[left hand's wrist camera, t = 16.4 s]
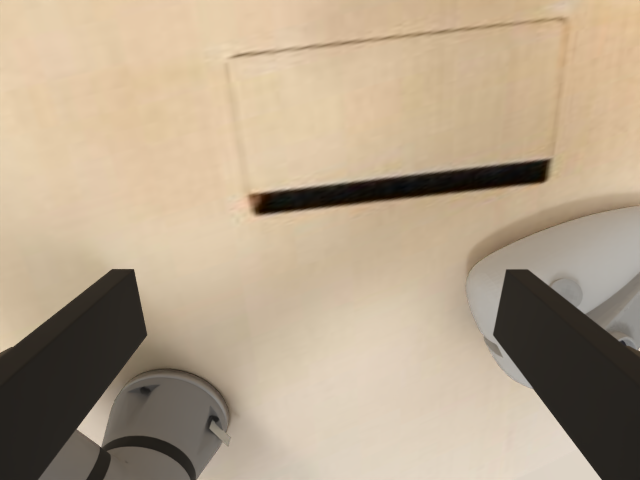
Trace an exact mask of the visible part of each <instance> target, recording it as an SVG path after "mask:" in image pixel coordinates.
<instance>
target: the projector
mask: <svg viewBox="0 0 640 480" xmlns="http://www.w3.org/2000/svg"><path fill="white" fill-rule="evenodd" d="M506 269H528V270H529V271H531V272H532V273H533V274H534V275H536V276H537V277H538V278H540V279H541V280H542V281H543V282H545V283H546V284H547V285H548V286H550V287H551V288H552V289H554V290H555V291H556V292H557V293H559V294H560V295H561V296H562V297H564V298H565V299H566V300H568V301H569V302H570V303H571V304H573V305H574V306H575V307H576V308H578V309H579V310H580V311H582V312H583V313H584V314H585V315H587V316H588V317H589V318H590V319H592V320H593V321H594V322H596V323H597V324H598V325H599V326H601V327H602V328H603V329H604V330H606V331H607V332H608V333H610V334H611V335H612V336H613V337H615V338H616V339H617V340H618V341H620V342H621V343H622V344H624V345H625V346H630V347H632V348H634V349H636V350H638V349H639V348H640V206H633V207H626V208H620V209H615V210H610V211H605V212H601V213H596V214H592V215H588V216H585V217H581V218H578V219H574V220H571V221H568V222H565V223H562V224H559V225H556V226H553V227H550V228H547V229H545V230H542V231H540V232H537V233H534V234H532V235H530V236H527V237H525V238H523V239H520V240H518V241H516V242H514V243H511V244H509V245H507V246H505V247H503V248H501V249H499V250H497V251H495V252H493V253H492V254H490V255H488V256H487V257H485V258H484V259H482V260H481V261H479V262H478V263H477V264H476V265H475V266H474V267H473V268H472V269H471V271H470V272H469V274H468V277H467V280H466V295H467V299H468V303H469V306H470V309H471V312H472V315H473V317H474V319H475V322H476V324H477V326H478V328H479V330H480V332H481V333H482V334H483V336H484V340H485V343H486V345H487V347H488V349H489V351H490V352H491V354H492V356H493V358H494V359H495V361H496V362H497V364H498V365H499V366H500V368H501V369H502V370H503V371H504V372H505V373H506V374H507V375H508V376H509V377H510V378H512V379H513V380H515V381H516V382H518V383H520V384H522V385H524V386H526V387H529V388H532V386H531V385H530V384H529V382H528V381H527V380H526V378H525V377H524V376H523V375H522V373H521V372H520V371H519V369H518V368H517V367H516V365H515V364H514V363H513V361H512V360H511V359H510V357H509V356H508V355H507V353H506V352H505V351H504V349H503V348H502V347H501V345H500V344H499V343H498V341H497V340H496V339H495V337H494V336H493V332H494V327H495V322H496V317H497V312H498V307H499V302H500V297H501V292H502V287H503V282H504V277H505V272H506ZM532 389H533V388H532Z"/></svg>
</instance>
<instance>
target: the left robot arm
mask: <svg viewBox="0 0 640 480" xmlns="http://www.w3.org/2000/svg"><path fill="white" fill-rule="evenodd" d="M146 336H147V332H146V327H145V322H144V317H143V312H142V307H141V302H140V297H139V292H138V287H137V282H136V277H135V272H134V269H112V270H111V271H109V272H108V273H107V274H105V275H104V276H103V277H102V278H100V279H99V280H98V281H97V282H95V283H94V284H93V285H92V286H90V287H89V288H88V289H86V290H85V291H84V292H83V293H81V294H80V295H79V296H78V297H76V298H75V299H74V300H72V301H71V302H70V303H69V304H67V305H66V306H65V307H64V308H62V309H61V310H60V311H58V312H57V313H56V314H55V315H53V316H52V317H51V318H50V319H48V320H47V321H46V322H44V323H43V324H42V325H41V326H39V327H38V328H37V329H36V330H34V331H33V332H32V333H30V334H29V335H28V336H27V337H25V338H24V339H23V340H22V341H20V342H19V343H18V344H16V345H15V346H14V347H11V348H9V349H7V350H5V351H3V352H1V353H0V480H197V478H198V477H199V475H200V474H201V472H202V471H203V470H204V468H205V467H206V465H207V464H208V463H209V461H210V460H211V458H212V457H213V456H214V454H215V453H216V451H217V450H218V449H219V447H220V445H221V443H222V441H223V442H224V443H225V444H226V445H227V446H229V442H230V438H231V437H230V436H229V435H228V434H227V433H226V431H227V427H228V423H229V412H228V408H227V405H226V403H225V401H224V399H223V397H222V396H221V395H220V393H219V392H218V391H217V390H216V389H215V388H214V387H213V386H212V385H210V384H209V383H208V382H206V381H205V380H203V379H201V378H199V377H197V376H195V375H193V374H190V373H187V372H183V371H178V370H169V369H161V370H153V371H149V372H145V373H142V374H140V375H138V376H136V377H134V378H133V379H131V380H130V381H129V382H128V383H127V384H126V385H125V386H124V387H123V389H122V390H121V392H120V393H119V395H118V396H117V398H116V399H115V401H114V404H113V406H112V409H111V412H110V416H109V420H108V424H107V427H106V431H105V435H104V439H103V443H102V447H100V446H99V445H97V444H96V443H95V442H93V441H92V440H91V439H89V438H88V437H86V436H85V435H84V434H82V433H81V432H79V431H78V430H77V428H78V426H79V425H80V424H81V422H82V421H83V420H84V418H85V417H86V416H87V414H88V413H89V412H90V410H91V409H92V408H93V406H94V405H95V404H96V402H97V401H98V400H99V398H100V397H101V396H102V394H103V393H104V392H105V390H106V389H107V388H108V386H109V385H110V384H111V382H112V381H113V380H114V378H115V377H116V376H117V375H118V373H119V372H120V371H121V369H122V368H123V367H124V365H125V364H126V363H127V361H128V360H129V359H130V357H131V356H132V355H133V353H134V352H135V351H136V349H137V348H138V347H139V345H140V344H141V343H142V341H143V340H144V339H145V337H146ZM493 336H494V337H495V339H496V340H497V341H498V343H499V344H500V345H501V347H502V348H503V349H504V351H505V352H506V353H507V355H508V356H509V357H510V359H511V360H512V361H513V363H514V364H515V365H516V367H517V368H518V369H519V371H520V372H521V373H522V375H523V376H524V377H525V378H526V380H527V381H528V382H529V384H530V385H531V386H532V388H533V389H534V390H535V392H536V393H537V394H538V396H539V397H540V398H541V400H542V401H543V402H544V404H545V405H546V406H547V408H548V409H549V410H550V412H551V413H552V414H553V416H554V417H555V418H556V420H557V421H558V422H559V424H560V425H561V426H562V428H563V429H564V430H565V432H566V433H567V434H568V436H569V437H570V438H571V439H572V441H573V442H574V443H575V445H576V446H577V447H578V449H579V450H580V451H581V453H582V454H583V455H584V457H585V458H586V459H587V461H588V462H589V463H590V465H591V466H592V467H593V469H594V470H595V471H596V473H597V474H598V475H599V477H600V478H601V479H602V480H640V351H638V350H636V349H634V348H632V347H630V346H625V345H624V344H622V343H621V342H620V341H618V340H617V339H616V338H615V337H613V336H612V335H611V334H610V333H608V332H607V331H606V330H604V329H603V328H602V327H601V326H599V325H598V324H597V323H596V322H594V321H593V320H592V319H590V318H589V317H588V316H587V315H585V314H584V313H583V312H582V311H580V310H579V309H578V308H576V307H575V306H574V305H573V304H571V303H570V302H569V301H568V300H566V299H565V298H564V297H562V296H561V295H560V294H559V293H557V292H556V291H555V290H554V289H552V288H551V287H550V286H548V285H547V284H546V283H545V282H543V281H542V280H541V279H540V278H538V277H537V276H536V275H534V274H533V273H532V272H531V271H529V270H528V269H506V272H505V277H504V282H503V287H502V292H501V297H500V302H499V307H498V312H497V317H496V322H495V327H494V332H493Z"/></svg>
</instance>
